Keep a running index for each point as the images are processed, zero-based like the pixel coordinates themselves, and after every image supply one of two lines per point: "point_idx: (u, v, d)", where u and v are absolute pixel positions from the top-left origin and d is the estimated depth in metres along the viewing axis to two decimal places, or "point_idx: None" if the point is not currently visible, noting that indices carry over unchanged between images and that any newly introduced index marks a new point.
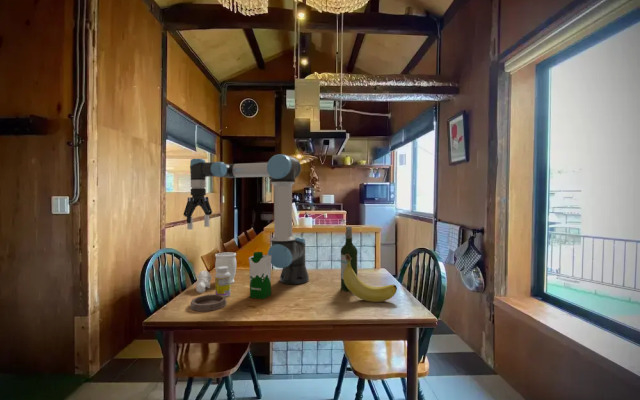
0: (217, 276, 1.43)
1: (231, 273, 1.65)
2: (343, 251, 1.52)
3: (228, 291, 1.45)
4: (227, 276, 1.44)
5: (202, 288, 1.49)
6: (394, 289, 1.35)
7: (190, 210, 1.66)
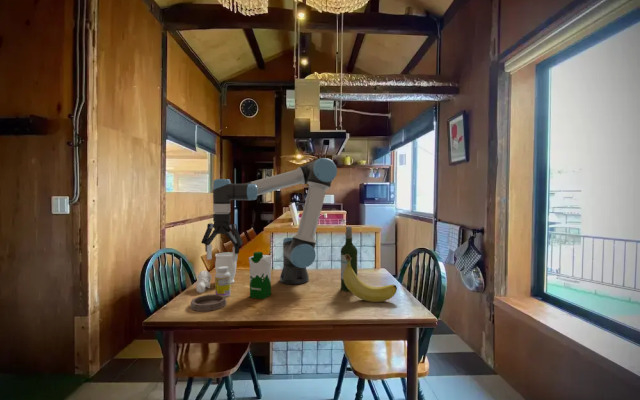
0: (217, 276, 1.43)
1: (231, 273, 1.65)
2: (343, 251, 1.52)
3: (228, 291, 1.45)
4: (227, 276, 1.44)
5: (202, 288, 1.49)
6: (394, 289, 1.35)
7: None
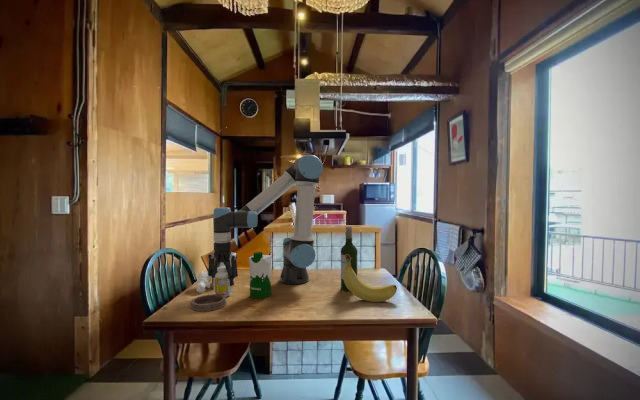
0: (217, 276, 1.43)
1: None
2: (343, 251, 1.52)
3: None
4: (227, 276, 1.44)
5: (202, 288, 1.49)
6: (394, 289, 1.35)
7: None
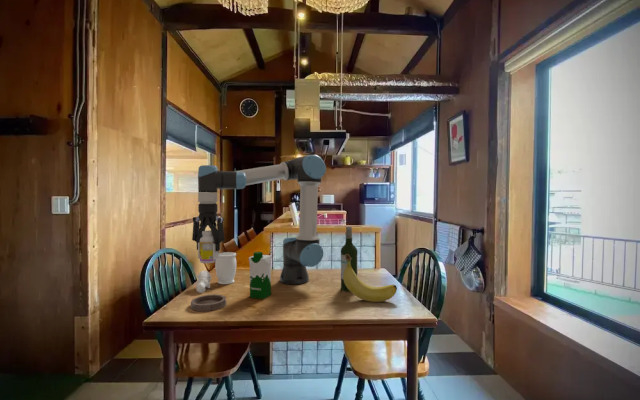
0: (201, 240, 1.31)
1: (231, 273, 1.65)
2: (343, 251, 1.52)
3: None
4: (212, 240, 1.32)
5: (202, 288, 1.49)
6: (394, 289, 1.35)
7: None
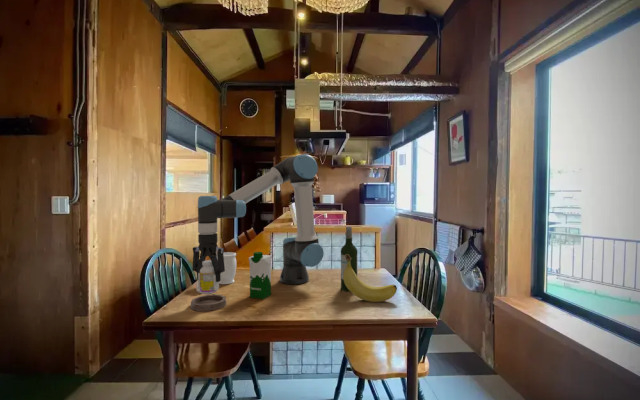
0: (202, 271, 1.30)
1: (231, 273, 1.65)
2: (343, 251, 1.52)
3: None
4: (213, 271, 1.31)
5: None
6: (394, 289, 1.35)
7: None
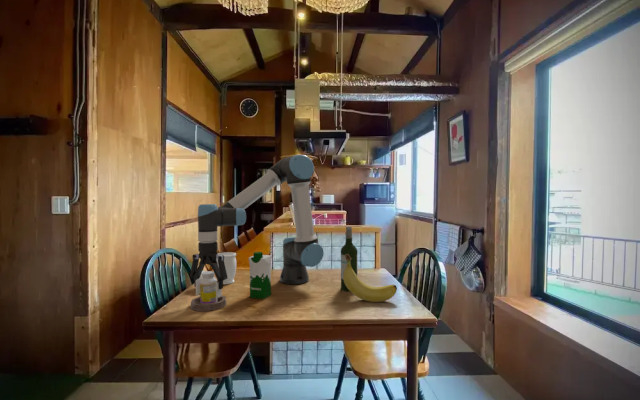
0: (202, 282, 1.30)
1: (231, 273, 1.65)
2: (343, 251, 1.52)
3: (214, 299, 1.32)
4: (213, 282, 1.31)
5: None
6: (394, 289, 1.35)
7: None
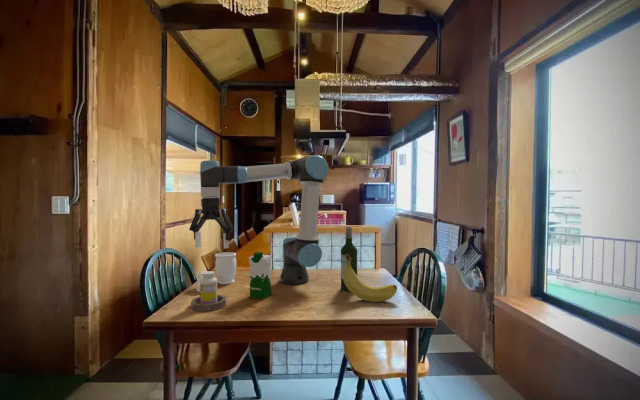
0: (202, 282, 1.30)
1: (231, 273, 1.65)
2: (343, 251, 1.52)
3: (214, 299, 1.32)
4: (213, 282, 1.31)
5: None
6: (394, 289, 1.35)
7: None
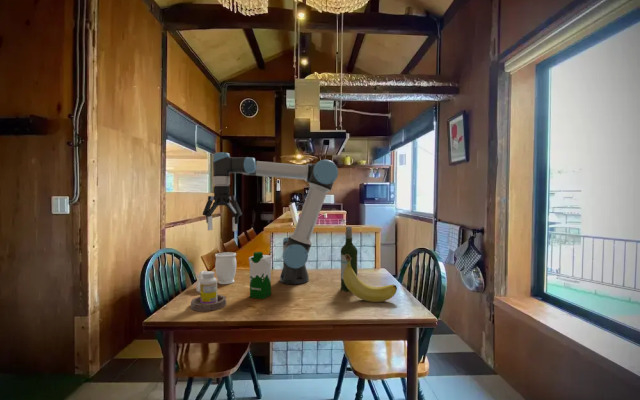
0: (202, 282, 1.30)
1: (231, 273, 1.65)
2: (343, 251, 1.52)
3: (214, 299, 1.32)
4: (213, 282, 1.31)
5: None
6: (394, 289, 1.35)
7: None
